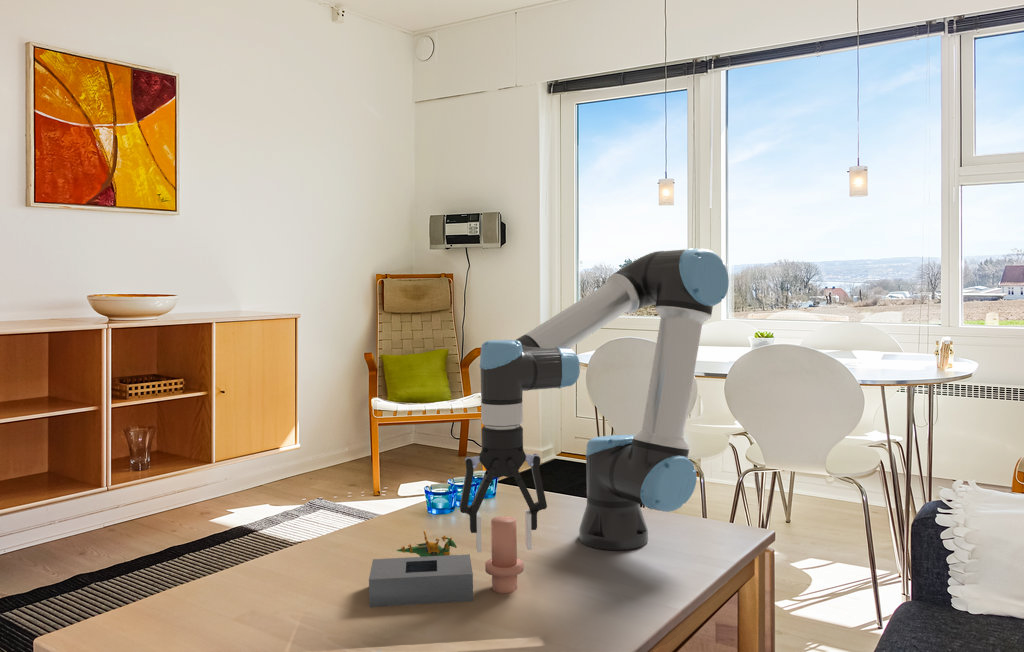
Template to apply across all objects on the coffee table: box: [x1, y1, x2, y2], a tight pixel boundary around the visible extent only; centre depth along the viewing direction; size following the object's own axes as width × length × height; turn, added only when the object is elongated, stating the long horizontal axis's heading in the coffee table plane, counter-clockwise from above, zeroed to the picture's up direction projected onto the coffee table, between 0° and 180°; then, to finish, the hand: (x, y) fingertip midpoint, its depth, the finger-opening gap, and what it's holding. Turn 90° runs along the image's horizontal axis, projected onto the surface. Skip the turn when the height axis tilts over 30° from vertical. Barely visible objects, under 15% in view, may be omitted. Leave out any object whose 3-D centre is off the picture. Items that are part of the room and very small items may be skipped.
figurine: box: [396, 530, 458, 557], centre depth 152 cm, size 3×12×8 cm, turn 103°
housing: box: [368, 553, 474, 608], centre depth 138 cm, size 18×10×6 cm, turn 96°
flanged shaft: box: [484, 515, 525, 594], centre depth 140 cm, size 7×7×14 cm
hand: (503, 548), depth 140 cm, fingers open, 8 cm apart
